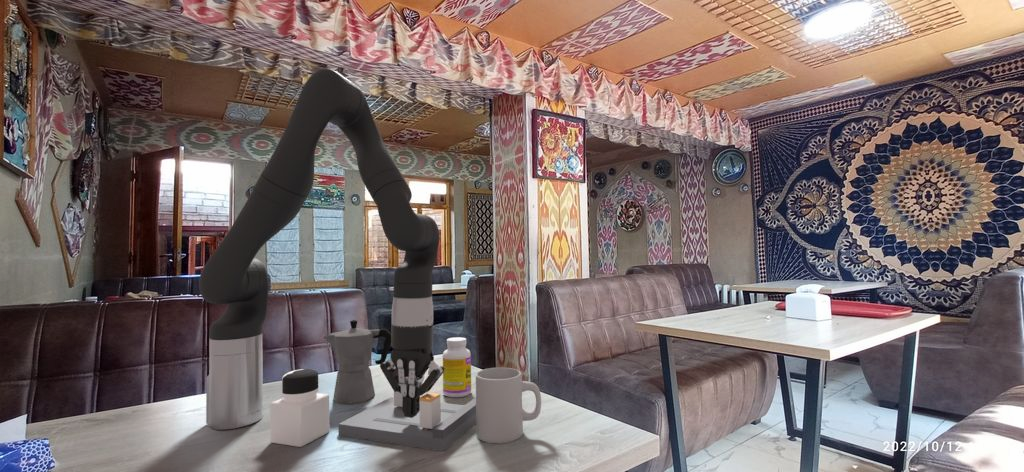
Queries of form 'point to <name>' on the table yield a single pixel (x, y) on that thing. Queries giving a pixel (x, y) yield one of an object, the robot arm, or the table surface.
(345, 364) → the coffeepot
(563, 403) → the table surface
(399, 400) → the fader far
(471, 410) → the console
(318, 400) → the medicine bottle
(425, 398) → the fader near
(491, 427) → the mug
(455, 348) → the supplement bottle
